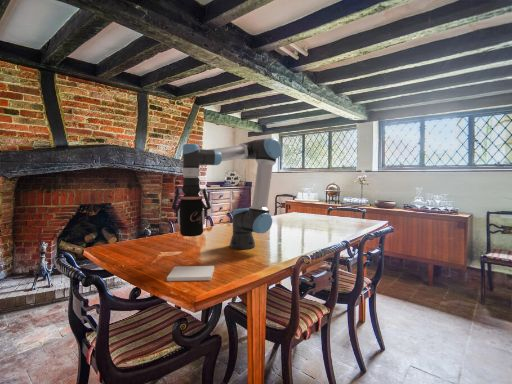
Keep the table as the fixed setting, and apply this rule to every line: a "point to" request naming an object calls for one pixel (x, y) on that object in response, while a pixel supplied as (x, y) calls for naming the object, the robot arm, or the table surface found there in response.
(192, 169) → the robot arm
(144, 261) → the table surface
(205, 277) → the plate
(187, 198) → the coffee jar
